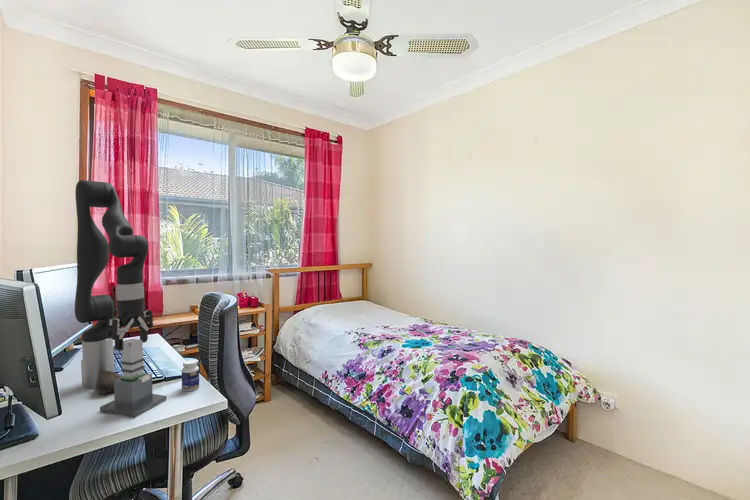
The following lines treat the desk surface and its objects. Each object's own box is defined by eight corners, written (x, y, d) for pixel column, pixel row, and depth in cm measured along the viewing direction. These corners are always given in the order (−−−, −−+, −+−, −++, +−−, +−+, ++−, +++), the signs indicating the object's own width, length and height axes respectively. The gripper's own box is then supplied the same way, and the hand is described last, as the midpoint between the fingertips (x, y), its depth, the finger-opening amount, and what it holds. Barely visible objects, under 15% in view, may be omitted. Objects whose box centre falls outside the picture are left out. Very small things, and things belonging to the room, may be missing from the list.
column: (121, 388, 118) (119, 342, 117) (134, 382, 122) (132, 338, 121) (132, 389, 117) (131, 343, 116) (145, 383, 121) (143, 339, 120)
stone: (112, 394, 137) (87, 381, 131) (131, 375, 139) (107, 362, 133) (111, 408, 129) (84, 396, 123) (131, 389, 131) (105, 375, 125)
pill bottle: (192, 392, 130) (191, 365, 129) (178, 390, 131) (177, 363, 130) (202, 385, 135) (202, 359, 135) (189, 384, 137) (188, 358, 136)
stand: (99, 411, 116) (98, 380, 115) (133, 395, 128) (132, 366, 127) (134, 417, 112) (133, 385, 112) (166, 400, 124) (165, 370, 123)
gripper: (140, 292, 126) (142, 338, 127) (99, 300, 112) (101, 352, 113) (158, 293, 124) (159, 340, 125) (118, 301, 110) (120, 354, 111)
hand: (132, 346), depth 119 cm, fingers open, 8 cm apart
